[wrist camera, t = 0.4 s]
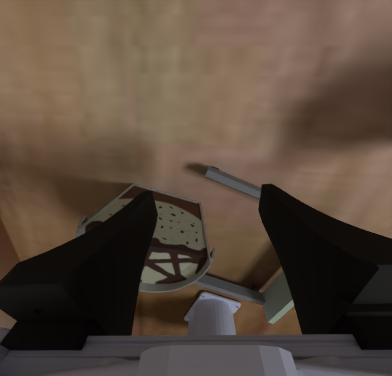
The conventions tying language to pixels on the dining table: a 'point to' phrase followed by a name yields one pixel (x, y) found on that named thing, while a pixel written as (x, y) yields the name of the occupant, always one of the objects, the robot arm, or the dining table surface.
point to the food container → (166, 240)
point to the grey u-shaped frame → (270, 299)
